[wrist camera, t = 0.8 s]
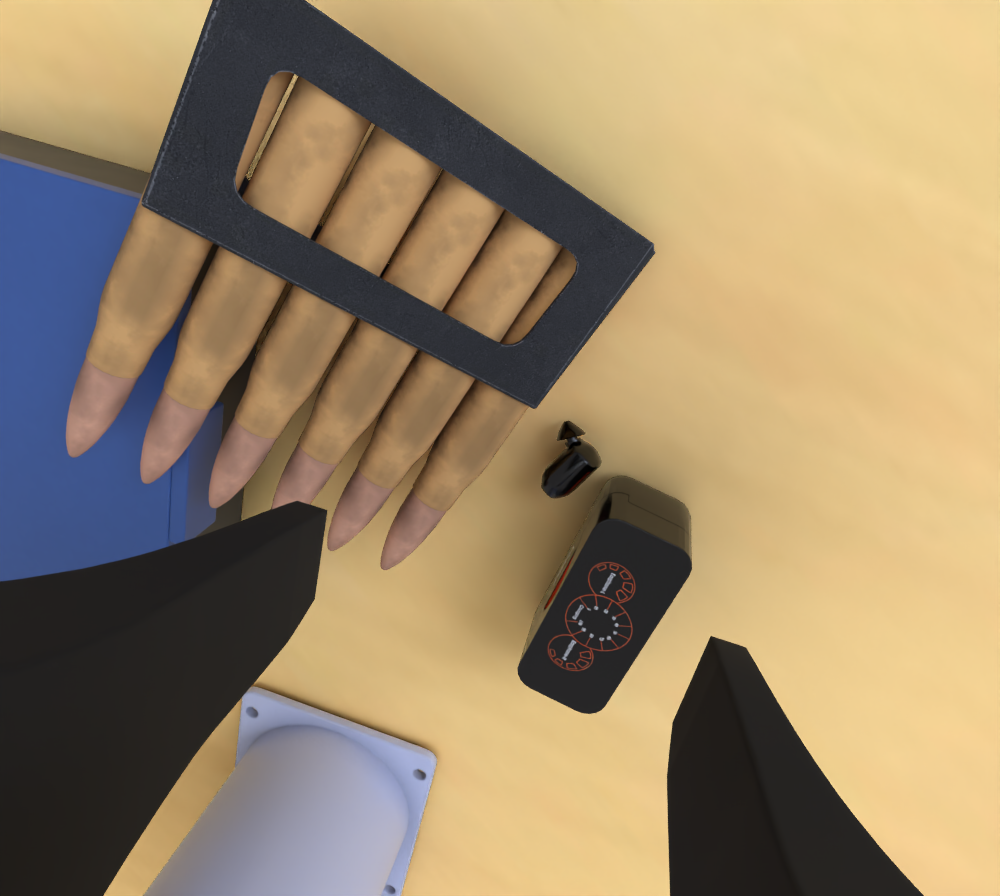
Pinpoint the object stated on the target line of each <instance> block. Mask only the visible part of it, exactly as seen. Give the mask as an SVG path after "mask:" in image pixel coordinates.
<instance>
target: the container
mask: <svg viewBox="0 0 1000 896" xmlns="http://www.w3.org/2000/svg"><path fill="white" fill-rule="evenodd" d="M150 175H151V173H148V172H144V171H141V170H137V169H134V168H130V167H127V166H123V165H120V164H116V163H112V162H109V161H105V160H102V159H98V158H95V157H91V156H88V155H84V154H81V153H77V152H74V151H70V150H67V149H63V148H60V147H56V146H53V145H49V144H46V143H42V142H39V141H35V140H32V139H28V138H25V137H21V136H18V135H14V134H11V133H7V132H4V131H0V581H8V580H16V579H23V578H29V577H35V576H41V575H47V574H53V573H59V572H65V571H71V570H77V569H82V568H87V567H92V566H97V565H101V564H105V563H109V562H114V561H118V560H122V559H126V558H130V557H134V556H138V555H141V554H145V553H148V552H152V551H155V550H158V549H161V548H165V547H168V546H171V545H174V544H177V543H180V542H183V541H186V540H189V539H192V538H196V537H199V536H202V535H205V534H207V533H210V532H213V531H216V530H218V529H221V528H224V527H226V526H229V525H232V524H234V523H237V522H240V521H241V510H242V499H243V488H244V486H243V487H242V488H241V489H240V490H239V491H238V492H237V493H236V494H235V495H234V496H233V497H232V498H231V499H230V500H229V501H227V502H226V503H224V504H223V505H221V506H219V507H218V508H212V507H211V506H210V505H209V485H210V480H211V474H212V470H213V466H214V463H215V459H216V457H217V454H218V451H219V449H220V446H221V443H222V441H223V438H224V436H225V434H226V432H227V430H228V428H229V426H230V424H231V422H232V420H233V419H234V417H235V412H236V409H237V407H238V405H239V403H240V401H241V399H242V396H243V394H244V392H245V390H246V387H247V383H248V379H249V375H250V371H251V368H252V365H253V362H254V360H255V355H256V344H257V341H256V343H255V344H254V346H253V348H252V350H251V352H250V354H249V355H248V357H247V359H246V360H245V362H244V363H243V364H242V365H241V367H240V368H239V369H238V370H237V371H236V373H235V374H234V375H233V376H232V377H231V378H230V380H229V381H228V382H227V384H226V386H225V387H224V389H223V391H222V392H221V394H220V396H219V398H218V399H217V401H216V403H215V405H214V406H213V407H212V408H211V409H210V411H209V413H208V415H207V417H206V419H205V420H204V422H203V424H202V426H201V428H200V429H199V431H198V432H197V434H196V435H195V437H194V438H193V440H192V441H191V443H190V444H189V446H188V447H187V448H186V450H185V451H184V452H183V454H182V455H181V456H180V457H179V458H178V459H177V461H176V462H175V463H174V464H173V465H172V466H171V467H170V468H169V469H168V470H167V471H166V472H165V473H164V474H163V475H162V476H161V477H159V478H158V479H156V480H155V481H153V482H152V483H150V484H145V483H143V481H142V479H141V472H140V462H141V455H142V448H143V443H144V438H145V434H146V430H147V427H148V424H149V421H150V418H151V415H152V412H153V409H154V407H155V405H156V403H157V400H158V398H159V396H160V394H161V392H162V390H163V387H164V382H165V379H166V377H167V374H168V372H169V370H170V367H171V365H172V362H173V360H174V357H175V353H176V348H177V343H178V339H179V334H180V330H181V328H182V325H183V323H184V320H185V318H186V316H187V314H188V312H189V310H190V308H191V305H192V303H193V301H194V299H195V297H196V295H197V293H198V290H199V288H200V286H201V284H202V282H203V280H204V278H205V275H206V273H207V271H208V269H209V267H210V265H211V263H212V260H213V258H214V256H215V254H216V252H217V250H218V248H219V246H218V245H216V244H214V243H213V245H212V247H211V249H210V251H209V253H208V255H207V257H206V259H205V261H204V264H203V266H202V268H201V270H200V272H199V274H198V276H197V278H196V280H195V282H194V284H193V287H192V289H191V291H190V293H189V295H188V297H187V299H186V301H185V303H184V305H183V307H182V309H181V312H180V314H179V316H178V318H177V320H176V322H175V323H174V325H173V327H172V328H171V330H170V331H169V332H168V334H167V335H166V336H165V337H164V339H163V340H162V341H161V342H160V344H159V345H158V346H157V347H156V349H155V350H154V352H153V354H152V356H151V358H150V359H149V361H148V363H147V365H146V367H145V369H144V371H143V373H142V374H141V375H140V376H139V377H138V379H137V381H136V384H135V386H134V388H133V390H132V392H131V394H130V396H129V398H128V400H127V401H126V403H125V405H124V406H123V408H122V409H121V411H120V413H119V414H118V416H117V417H116V419H115V420H114V422H113V423H112V424H111V426H110V427H109V428H108V429H107V431H106V432H105V433H104V434H103V435H102V436H101V438H100V439H99V440H98V441H97V442H96V443H95V444H94V445H93V446H92V447H91V448H89V449H88V450H87V451H86V452H84V453H83V454H82V455H80V456H78V457H75V458H73V457H71V456H70V455H69V454H68V450H67V445H66V426H67V417H68V411H69V406H70V402H71V398H72V395H73V391H74V387H75V384H76V380H77V378H78V375H79V372H80V370H81V367H82V365H83V363H84V360H85V358H86V352H87V348H88V346H89V343H90V340H91V337H92V335H93V332H94V329H95V326H96V322H97V316H98V310H99V304H100V299H101V294H102V291H103V288H104V285H105V283H106V281H107V278H108V276H109V273H110V271H111V269H112V266H113V264H114V261H115V259H116V257H117V254H118V252H119V249H120V247H121V244H122V242H123V240H124V237H125V235H126V232H127V230H128V228H129V225H130V223H131V220H132V218H133V216H134V213H135V211H136V208H137V206H138V204H139V201H140V199H141V196H142V194H143V192H144V189H145V187H146V184H147V182H148V179H149V177H150Z"/></svg>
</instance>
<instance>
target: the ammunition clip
mask: <svg viewBox="0 0 1000 896" xmlns="http://www.w3.org/2000/svg"><path fill="white" fill-rule="evenodd" d="M294 74H296V75H298V78H297V80H296V83H295V85H294V87H293V89H292V91H291V93H290V95H289V98H288V100H287V102H286V104H285V106H284V108H283V110H282V113H281V115H280V117H279V119H278V121H277V123H276V125H275V128H274V130H273V132H272V134H271V136H270V138H269V140H268V143H267V145H266V147H265V149H264V151H263V153H262V155H261V158H260V160H259V162H258V164H257V166H256V168H255V170H254V173H253V175H252V177H251V179H250V181H248V179H247V178H246V174H247V172H248V170H249V167H250V165H251V163H252V161H253V159H254V157H255V155H256V153H257V151H258V149H259V147H260V144H261V142H262V140H263V138H264V136H265V134H266V132H267V130H268V128H269V126H270V124H271V121H272V119H273V117H274V115H275V113H276V111H277V109H278V107H279V105H280V103H281V101H282V98H283V96H284V94H285V92H286V90H287V88H288V86H289V84H290V82H291V80H292V78H293V76H294ZM371 123H373V124H375V126H374V128H373V130H372V132H371V134H370V136H369V138H368V140H367V142H366V144H365V146H364V148H363V150H362V152H361V154H360V155H359V157H358V159H357V161H356V163H355V165H354V167H353V169H352V171H351V173H350V175H349V177H348V179H347V181H346V183H345V185H344V187H343V188H342V190H341V192H340V194H339V196H338V198H337V200H336V202H335V204H334V206H333V208H332V210H331V212H330V214H329V216H328V218H327V219H326V221H325V223H324V225H323V227H322V226H320V225H319V224H318V223H319V221H320V219H321V217H322V216H323V214H324V212H325V210H326V208H327V206H328V204H329V202H330V200H331V199H332V197H333V195H334V193H335V191H336V189H337V187H338V185H339V183H340V181H341V180H342V178H343V176H344V174H345V172H346V170H347V168H348V166H349V164H350V163H351V161H352V159H353V157H354V155H355V153H356V151H357V149H358V147H359V145H360V144H361V142H362V140H363V138H364V136H365V134H366V132H367V130H368V128H369V127H370V125H371ZM441 168H442V169H443V170H442V171H441V173H440V175H439V177H438V179H437V180H436V182H435V184H434V186H433V188H432V189H431V191H430V193H429V195H428V196H427V198H426V200H425V202H424V204H423V205H422V207H421V209H420V211H419V212H418V214H417V216H416V218H415V220H414V221H413V223H412V225H411V227H410V229H409V230H408V232H407V234H406V236H405V237H404V239H403V241H402V243H401V245H400V246H399V248H398V250H397V252H396V253H395V255H394V257H393V259H392V261H391V262H390V264H388V263H387V262H388V260H389V259H390V257H391V255H392V253H393V252H394V250H395V248H396V246H397V245H398V243H399V241H400V239H401V238H402V236H403V234H404V233H405V231H406V229H407V227H408V226H409V224H410V222H411V220H412V219H413V217H414V215H415V213H416V212H417V210H418V208H419V206H420V205H421V203H422V201H423V199H424V198H425V196H426V194H427V192H428V191H429V189H430V187H431V186H432V184H433V182H434V180H435V179H436V177H437V175H438V173H439V172H440V170H441ZM213 243H214V244H216V245H218V246H219V248H218V250H217V252H216V254H215V256H214V258H213V260H212V263H211V265H210V267H209V269H208V271H207V273H206V275H205V278H204V280H203V282H202V284H201V286H200V288H199V290H198V293H197V295H196V297H195V299H194V301H193V303H192V305H191V308H190V310H189V312H188V314H187V316H186V318H185V320H184V323H183V325H182V328H181V330H180V334H179V339H178V343H177V348H176V353H175V357H174V360H173V362H172V365H171V367H170V370H169V372H168V374H167V377H166V379H165V382H164V387H163V390H162V392H161V394H160V396H159V398H158V400H157V403H156V405H155V407H154V409H153V412H152V415H151V418H150V421H149V424H148V427H147V430H146V434H145V438H144V443H143V448H142V455H141V462H140V472H141V479H142V481H143V483H145V484H150V483H152V482H153V481H155V480H156V479H158V478H159V477H161V476H162V475H163V474H164V473H165V472H166V471H167V470H168V469H169V468H170V467H171V466H172V465H173V464H174V463H175V462H176V461H177V459H178V458H179V457H180V456H181V455H182V454H183V452H184V451H185V450H186V448H187V447H188V446H189V444H190V443H191V441H192V440H193V438H194V437H195V435H196V434H197V432H198V431H199V429H200V428H201V426H202V424H203V422H204V420H205V419H206V417H207V415H208V413H209V411H210V409H211V408H212V407H213V406H214V405H215V403H216V401H217V399H218V398H219V396H220V394H221V392H222V391H223V389H224V387H225V386H226V384H227V382H228V381H229V380H230V378H231V377H232V376H233V375H234V374H235V373H236V371H237V370H238V369H239V368H240V367H241V365H242V364H243V363H244V362H245V360H246V359H247V357H248V355H249V354H250V352H251V350H252V348H253V346H254V344H255V343H256V341H257V339H258V337H259V335H260V333H261V331H262V329H263V327H264V325H265V324H266V322H267V320H268V318H269V316H270V314H271V312H272V310H273V308H274V307H275V305H276V303H277V301H278V299H279V297H280V295H281V293H282V291H283V289H284V288H285V286H286V284H287V282H290V283H292V284H293V285H292V287H291V289H290V291H289V293H288V295H287V297H286V299H285V301H284V303H283V305H282V307H281V309H280V311H279V313H278V315H277V316H276V318H275V320H274V322H273V324H272V326H271V328H270V330H269V332H268V334H267V336H266V338H265V340H264V342H263V344H262V346H261V347H260V349H259V351H258V353H257V355H256V357H255V360H254V362H253V365H252V368H251V371H250V375H249V379H248V383H247V387H246V390H245V392H244V394H243V396H242V399H241V401H240V403H239V405H238V407H237V409H236V412H235V417H234V419H233V420H232V422H231V424H230V426H229V428H228V430H227V432H226V434H225V436H224V438H223V441H222V443H221V446H220V449H219V451H218V454H217V457H216V459H215V463H214V466H213V470H212V474H211V480H210V485H209V505H210V506H211V507H212V508H218V507H219V506H221V505H223V504H224V503H226V502H227V501H229V500H230V499H231V498H232V497H233V496H234V495H235V494H236V493H237V492H238V491H239V490H240V489H241V488H242V487H243V486H244V485H245V484H246V483H247V482H248V481H249V480H250V478H251V477H252V476H253V474H254V473H255V472H256V470H257V469H258V468H259V466H260V465H261V464H262V462H263V461H264V459H265V458H266V456H267V454H268V453H269V451H270V449H271V448H272V446H273V444H274V442H275V441H276V439H277V437H279V436H280V435H281V433H282V432H283V430H284V428H285V427H286V425H287V424H288V422H289V420H290V419H291V417H292V416H293V414H294V413H295V412H296V411H297V410H298V409H299V407H300V406H301V405H302V404H303V403H304V402H305V401H306V400H307V398H308V397H309V396H310V395H311V394H312V392H313V390H314V389H315V387H316V386H317V384H318V382H319V380H320V379H321V377H322V375H323V373H324V372H325V370H326V368H327V367H328V365H329V363H330V361H331V360H332V358H333V356H334V354H335V353H336V351H337V349H338V347H339V346H340V344H341V342H342V340H343V339H344V337H345V335H346V333H347V332H348V330H349V328H350V326H351V325H352V323H353V321H354V320H355V318H356V317H357V318H359V319H358V321H357V323H356V325H355V327H354V328H353V330H352V332H351V334H350V335H349V337H348V339H347V341H346V343H345V344H344V346H343V348H342V350H341V352H340V353H339V355H338V357H337V359H336V360H335V362H334V364H333V366H332V368H331V369H330V371H329V373H328V375H327V376H326V378H325V380H324V382H323V384H322V386H321V388H320V390H319V392H318V394H317V397H316V400H315V403H314V407H313V410H312V413H311V416H310V419H309V421H308V423H307V425H306V427H305V428H304V430H303V432H302V434H301V436H300V438H299V442H298V444H297V446H296V448H295V450H294V451H293V453H292V455H291V457H290V459H289V461H288V463H287V465H286V467H285V469H284V472H283V474H282V476H281V479H280V481H279V484H278V486H277V489H276V493H275V496H274V500H273V504H272V508H271V509H274V508H277V507H279V506H282V505H285V504H288V503H291V502H294V501H300V502H303V503H306V504H310V503H311V502H312V500H313V499H314V498H315V497H316V495H317V494H318V493H319V492H320V490H321V489H322V488H323V486H324V485H325V484H326V482H327V481H328V479H329V477H330V476H331V474H332V473H333V471H334V469H335V468H336V466H337V465H338V463H340V462H341V461H342V459H343V458H344V456H345V455H346V453H347V452H348V450H349V449H350V447H351V446H352V444H353V443H354V441H355V440H356V439H357V438H358V437H359V436H360V435H361V434H362V433H363V432H364V431H365V430H366V429H367V428H368V427H369V425H370V424H371V423H372V422H373V421H374V419H375V418H376V416H377V415H378V413H379V412H380V410H381V408H382V407H383V405H384V403H385V402H386V400H387V399H388V397H389V395H390V394H391V392H392V391H393V389H394V387H395V386H396V384H397V382H398V381H399V379H400V378H401V376H402V374H403V373H404V371H405V370H406V368H407V366H408V365H409V363H410V361H411V360H412V358H413V357H414V355H415V353H416V352H417V350H418V349H419V351H418V352H417V354H416V355H415V357H414V359H413V360H412V362H411V364H410V365H409V367H408V369H407V370H406V372H405V374H404V375H403V377H402V379H401V380H400V382H399V384H398V385H397V387H396V389H395V390H394V392H393V394H392V395H391V397H390V399H389V400H388V402H387V404H386V405H385V407H384V409H383V410H382V412H381V414H380V416H379V418H378V421H377V423H376V426H375V429H374V432H373V435H372V438H371V440H370V442H369V444H368V446H367V448H366V450H365V451H364V453H363V455H362V457H361V459H360V460H359V463H358V466H357V468H356V469H355V471H354V473H353V475H352V476H351V478H350V480H349V481H348V483H347V485H346V487H345V489H344V491H343V493H342V495H341V498H340V500H339V502H338V504H337V507H336V509H335V512H334V515H333V518H332V521H331V525H330V528H329V533H328V542H327V546H328V549H329V550H330V551H334V550H336V549H338V548H340V547H342V546H343V545H345V544H346V543H347V542H349V541H350V540H351V539H352V538H353V537H354V536H356V535H357V534H358V533H359V532H360V531H361V530H362V529H363V528H364V527H365V526H366V525H367V524H368V523H369V522H370V520H371V519H372V518H373V517H374V516H375V514H376V513H377V512H378V511H379V510H380V508H381V507H382V506H383V504H384V503H385V501H386V500H387V498H388V497H389V495H390V494H391V492H392V491H393V489H394V488H395V487H396V486H398V484H399V483H400V481H401V480H402V479H403V477H404V476H405V474H406V473H407V472H408V470H409V469H410V467H411V466H412V465H413V464H414V463H415V462H416V461H417V460H418V459H419V458H420V457H421V456H422V455H423V454H424V453H425V452H426V451H427V450H428V449H429V448H430V446H431V445H432V444H433V442H434V444H433V446H432V448H431V451H430V453H429V456H428V459H427V461H426V464H425V466H424V467H423V469H422V471H421V473H420V474H419V476H418V478H417V479H416V481H415V483H414V484H413V488H412V490H411V491H410V493H409V494H408V496H407V497H406V499H405V501H404V502H403V504H402V505H401V507H400V509H399V511H398V513H397V515H396V517H395V519H394V521H393V523H392V525H391V527H390V530H389V532H388V535H387V538H386V541H385V544H384V547H383V551H382V556H381V568H382V569H383V570H387V569H390V568H392V567H394V566H395V565H397V564H398V563H400V562H401V561H402V560H404V559H405V558H406V557H407V556H408V555H410V554H411V553H412V552H413V551H414V550H415V549H416V548H417V547H418V546H419V545H420V544H421V543H422V542H423V541H424V539H425V538H426V537H427V536H428V535H429V534H430V533H431V531H432V530H433V529H434V528H435V526H436V525H437V524H438V522H439V521H440V520H441V518H442V517H443V515H444V514H445V513H446V511H447V510H449V509H450V507H451V506H452V505H453V503H454V502H455V501H456V499H457V498H458V497H459V496H460V494H461V493H462V492H463V490H464V489H465V488H466V487H467V486H468V485H469V484H471V483H472V482H473V481H474V480H475V479H476V478H477V477H478V476H479V475H480V474H481V473H482V472H483V470H484V469H485V468H486V466H487V465H488V464H489V462H490V461H491V459H492V458H493V456H494V455H495V454H496V452H497V451H498V449H499V448H500V447H501V445H502V444H503V442H504V441H505V439H506V438H507V437H508V435H509V434H510V432H511V431H512V429H513V428H514V427H515V425H516V424H517V422H518V421H519V419H520V418H521V417H522V415H523V414H524V412H525V411H526V409H527V408H528V407H531V408H533V409H535V408H537V407H538V405H539V404H540V402H541V401H542V400H543V398H544V397H545V396H546V394H547V393H548V392H549V390H550V389H551V388H552V386H553V385H554V384H555V382H556V381H557V380H558V379H559V377H560V376H561V375H562V373H563V372H564V371H565V369H566V368H567V367H568V366H569V364H570V363H571V362H572V360H573V359H574V358H575V356H576V355H577V354H578V353H579V351H580V350H581V349H582V347H583V346H584V345H585V343H586V342H587V341H588V340H589V338H590V337H591V336H592V334H593V333H594V332H595V330H596V329H597V328H598V327H599V325H600V324H601V323H602V321H603V320H604V319H605V317H606V316H607V315H608V314H609V312H610V311H611V310H612V308H613V307H614V306H615V304H616V303H617V302H618V301H619V299H620V298H621V297H622V295H623V294H624V293H625V291H626V290H627V289H628V288H629V286H630V285H631V284H632V282H633V281H634V280H635V278H636V277H637V276H638V275H639V273H640V272H641V271H642V269H643V268H644V267H645V266H646V264H647V263H648V262H649V260H650V259H651V258H652V256H653V255H654V254H655V251H654V244H653V243H652V242H650V241H649V240H648V239H646V238H645V237H643V236H642V235H640V234H639V233H638V232H636V231H635V230H633V229H632V228H630V227H629V226H628V225H626V224H625V223H623V222H622V221H620V220H619V219H617V218H616V217H615V216H613V215H612V214H610V213H609V212H607V211H606V210H605V209H603V208H602V207H600V206H599V205H597V204H596V203H595V202H593V201H592V200H590V199H589V198H587V197H586V196H585V195H583V194H582V193H580V192H579V191H577V190H576V189H575V188H573V187H572V186H570V185H569V184H567V183H566V182H564V181H563V180H562V179H560V178H559V177H557V176H556V175H554V174H553V173H552V172H550V171H549V170H547V169H546V168H544V167H543V166H542V165H540V164H539V163H537V162H536V161H534V160H533V159H532V158H530V157H529V156H527V155H526V154H524V153H523V152H522V151H520V150H519V149H517V148H516V147H514V146H513V145H511V144H510V143H509V142H507V141H506V140H504V139H503V138H501V137H500V136H499V135H497V134H496V133H494V132H493V131H491V130H490V129H489V128H487V127H486V126H484V125H483V124H481V123H480V122H479V121H477V120H476V119H474V118H473V117H471V116H470V115H469V114H467V113H466V112H464V111H463V110H461V109H460V108H458V107H457V106H456V105H454V104H453V103H451V102H450V101H448V100H447V99H446V98H444V97H443V96H441V95H440V94H438V93H437V92H436V91H434V90H433V89H431V88H430V87H428V86H427V85H426V84H424V83H423V82H421V81H420V80H418V79H417V78H416V77H414V76H413V75H411V74H410V73H408V72H407V71H406V70H404V69H403V68H401V67H400V66H398V65H397V64H395V63H394V62H393V61H391V60H390V59H388V58H387V57H385V56H384V55H383V54H381V53H380V52H378V51H377V50H375V49H374V48H373V47H371V46H370V45H368V44H367V43H365V42H364V41H363V40H361V39H360V38H358V37H357V36H355V35H354V34H353V33H351V32H350V31H348V30H347V29H345V28H344V27H342V26H341V25H340V24H338V23H337V22H335V21H334V20H332V19H331V18H330V17H328V16H327V15H325V14H324V13H322V12H321V11H320V10H318V9H317V8H315V7H314V6H312V5H311V4H310V3H308V2H307V1H305V0H213V1H212V4H211V6H210V9H209V12H208V15H207V18H206V20H205V23H204V26H203V29H202V32H201V35H200V37H199V40H198V43H197V46H196V49H195V51H194V54H193V57H192V60H191V63H190V66H189V68H188V71H187V74H186V77H185V80H184V82H183V85H182V88H181V91H180V94H179V96H178V99H177V102H176V105H175V108H174V111H173V113H172V116H171V119H170V122H169V125H168V127H167V130H166V133H165V136H164V139H163V142H162V144H161V147H160V150H159V153H158V156H157V158H156V161H155V164H154V167H153V170H152V172H151V175H150V177H149V179H148V182H147V184H146V187H145V189H144V192H143V194H142V196H141V199H140V201H139V204H138V206H137V208H136V211H135V213H134V216H133V218H132V220H131V223H130V225H129V228H128V230H127V232H126V235H125V237H124V240H123V242H122V244H121V247H120V249H119V252H118V254H117V257H116V259H115V261H114V264H113V266H112V269H111V271H110V273H109V276H108V278H107V281H106V283H105V285H104V288H103V291H102V294H101V299H100V304H99V310H98V316H97V322H96V326H95V329H94V332H93V335H92V337H91V340H90V343H89V346H88V348H87V352H86V358H85V360H84V363H83V365H82V367H81V370H80V372H79V375H78V378H77V380H76V384H75V387H74V391H73V395H72V398H71V402H70V406H69V411H68V417H67V426H66V445H67V450H68V454H69V455H70V456H71V457H73V458H75V457H78V456H80V455H82V454H83V453H84V452H86V451H87V450H88V449H89V448H91V447H92V446H93V445H94V444H95V443H96V442H97V441H98V440H99V439H100V438H101V436H102V435H103V434H104V433H105V432H106V431H107V429H108V428H109V427H110V426H111V424H112V423H113V422H114V420H115V419H116V417H117V416H118V414H119V413H120V411H121V409H122V408H123V406H124V405H125V403H126V401H127V400H128V398H129V396H130V394H131V392H132V390H133V388H134V386H135V384H136V381H137V379H138V377H139V376H140V375H141V374H142V373H143V371H144V369H145V367H146V365H147V363H148V361H149V359H150V358H151V356H152V354H153V352H154V350H155V349H156V347H157V346H158V345H159V344H160V342H161V341H162V340H163V339H164V337H165V336H166V335H167V334H168V332H169V331H170V330H171V328H172V327H173V325H174V323H175V322H176V320H177V318H178V316H179V314H180V312H181V309H182V307H183V305H184V303H185V301H186V299H187V297H188V295H189V293H190V291H191V289H192V287H193V284H194V282H195V280H196V278H197V276H198V274H199V272H200V270H201V268H202V266H203V264H204V261H205V259H206V257H207V255H208V253H209V251H210V249H211V247H212V245H213ZM459 282H460V283H459ZM456 287H457V288H456ZM454 290H455V291H454ZM453 292H454V293H453ZM451 295H452V296H451ZM450 297H451V298H450ZM435 439H436V440H435Z"/></svg>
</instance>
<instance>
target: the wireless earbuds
mask: <svg viewBox="0 0 1000 896" xmlns="http://www.w3.org/2000/svg"><path fill="white" fill-rule="evenodd" d="M584 434H586V433H585V432H584V431H583V430H582V429H581V428H579V427H578V426H576V425H575V424H573V423H572V422H570V421H566V422H564V423H563V424H562V426H561V429H560V431H559V433H558V436H557V441H560V440H565V439H567V442H566V443H565V445H566V447H567V448H566V449H565V450H564V451H563V452H562V453H561V454H560V455H559V456H558V457H557V458H556V459H555V460H554V461H553V462H552V463H551V464H549V465H548V466H547V468H546V469H545V471H544V473H543V475H542V483H541V488H542V489H543V491H544V492H545V493H546V494H547V495H548V496H549V497H551V498H555V499H556V498H561V497H565V496H568V495H569V494H571V493H572V492H573V491H575V490H576V489H577V488H578V487H579V486H580V485H581V484H582V483H583V482H584V481H585V480H586V479H587V478H588V477H589V476H590V475H591V474H592V473H593V472H594V471H596V470H597V469H598V468H599V467H600V466H601V458H600V456H599V454H598V452H597V451H596V449H595V448H594V447H593V446H592V445H591V444H589V443H587V442H586V441H584V440H583V439H581V438H577V436H581V435H584ZM691 570H692V549H691V516H690V514H689V511H688V508H687V507H686V506H685V505H684V504H683V503H682V502H680V501H679V500H677V499H675V498H673V497H671V496H669V495H667V494H664V493H662V492H660V491H658V490H656V489H654V488H652V487H650V486H648V485H645V484H643V483H641V482H639V481H637V480H635V479H633V478H630V477H627V476H616V477H613V478H611V479H610V480H608V481H607V482H606V484H605V485H604V486H603V488H602V489H601V491H600V493H599V495H598V497H597V499H596V501H595V502H594V504H593V506H592V508H591V510H590V512H589V514H588V515H587V517H586V519H585V521H584V523H583V525H582V527H581V528H580V530H579V532H578V534H577V536H576V538H575V540H574V541H573V543H572V545H571V547H570V549H569V551H568V553H567V554H566V556H565V558H564V560H563V562H562V564H561V566H560V568H559V569H558V571H557V573H556V575H555V577H554V579H553V581H552V582H551V584H550V586H549V588H548V590H547V592H546V594H545V595H544V597H543V599H542V601H541V603H540V605H539V607H538V608H537V610H536V612H535V615H534V618H533V621H532V625H531V628H530V631H529V634H528V637H527V640H526V644H525V647H524V650H523V653H522V656H521V659H520V662H519V666H518V675H519V677H520V680H521V681H522V682H523V683H524V684H525V685H526V686H528V687H529V688H531V689H533V690H535V691H537V692H539V693H541V694H543V695H545V696H547V697H549V698H551V699H553V700H555V701H557V702H559V703H562V704H564V705H566V706H568V707H570V708H572V709H574V710H576V711H578V712H581V713H587V714H591V713H596V712H598V711H600V710H602V709H603V708H604V707H605V706H606V704H607V702H608V701H609V699H610V698H611V696H612V695H613V693H614V692H615V690H616V688H617V687H618V685H619V684H620V682H621V681H622V679H623V678H624V676H625V674H626V673H627V671H628V670H629V668H630V667H631V665H632V664H633V662H634V661H635V659H636V657H637V656H638V654H639V653H640V651H641V650H642V648H643V647H644V645H645V643H646V642H647V640H648V639H649V637H650V636H651V634H652V633H653V631H654V629H655V628H656V626H657V625H658V623H659V622H660V620H661V619H662V617H663V616H664V614H665V612H666V611H667V609H668V608H669V606H670V605H671V603H672V602H673V600H674V598H675V597H676V595H677V594H678V592H679V591H680V589H681V588H682V586H683V584H684V583H685V581H686V580H687V578H688V577H689V575H690V572H691Z"/></svg>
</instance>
